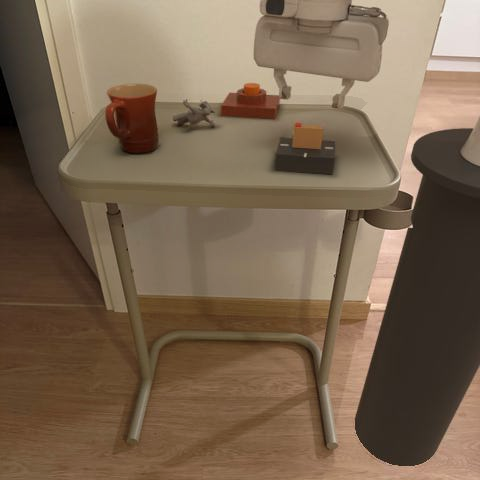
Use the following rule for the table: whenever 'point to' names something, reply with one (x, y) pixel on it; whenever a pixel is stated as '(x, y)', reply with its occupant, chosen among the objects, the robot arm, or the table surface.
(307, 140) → the tan upright tile
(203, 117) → the grey branched piece
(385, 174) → the table surface
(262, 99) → the button box
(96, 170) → the table surface
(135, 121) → the mug
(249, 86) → the button
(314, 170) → the panel
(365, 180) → the table surface
